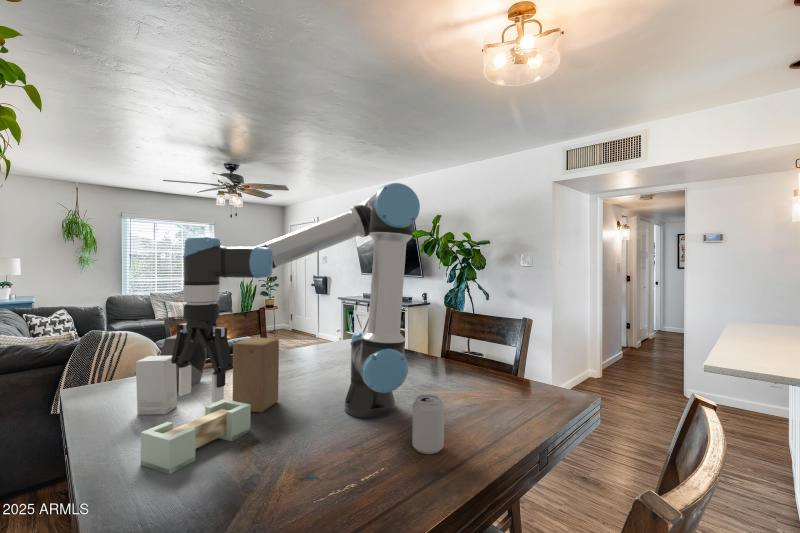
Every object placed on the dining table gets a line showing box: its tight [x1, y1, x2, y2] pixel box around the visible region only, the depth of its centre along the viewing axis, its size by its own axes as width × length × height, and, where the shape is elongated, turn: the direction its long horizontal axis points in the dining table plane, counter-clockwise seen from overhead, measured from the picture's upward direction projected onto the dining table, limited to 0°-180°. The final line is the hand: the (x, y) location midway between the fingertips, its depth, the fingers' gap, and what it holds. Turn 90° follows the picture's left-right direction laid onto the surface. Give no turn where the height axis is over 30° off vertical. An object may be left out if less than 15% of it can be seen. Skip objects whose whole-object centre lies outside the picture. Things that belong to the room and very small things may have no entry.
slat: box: [163, 409, 229, 450], centre depth 90 cm, size 16×4×5 cm, turn 157°
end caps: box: [140, 398, 252, 475], centre depth 90 cm, size 22×9×7 cm, turn 157°
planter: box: [159, 334, 208, 392], centre depth 134 cm, size 17×8×21 cm
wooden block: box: [232, 337, 280, 413], centre depth 116 cm, size 10×10×20 cm
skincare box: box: [135, 355, 178, 416], centre depth 111 cm, size 8×7×16 cm
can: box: [411, 393, 445, 455], centre depth 91 cm, size 8×8×12 cm
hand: (201, 397), depth 90 cm, fingers open, 10 cm apart
